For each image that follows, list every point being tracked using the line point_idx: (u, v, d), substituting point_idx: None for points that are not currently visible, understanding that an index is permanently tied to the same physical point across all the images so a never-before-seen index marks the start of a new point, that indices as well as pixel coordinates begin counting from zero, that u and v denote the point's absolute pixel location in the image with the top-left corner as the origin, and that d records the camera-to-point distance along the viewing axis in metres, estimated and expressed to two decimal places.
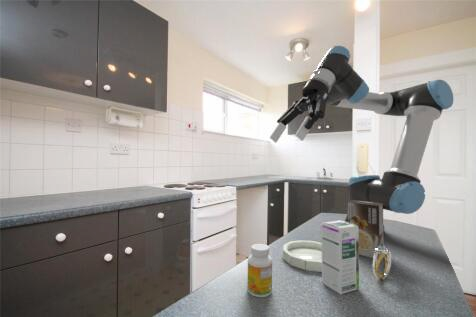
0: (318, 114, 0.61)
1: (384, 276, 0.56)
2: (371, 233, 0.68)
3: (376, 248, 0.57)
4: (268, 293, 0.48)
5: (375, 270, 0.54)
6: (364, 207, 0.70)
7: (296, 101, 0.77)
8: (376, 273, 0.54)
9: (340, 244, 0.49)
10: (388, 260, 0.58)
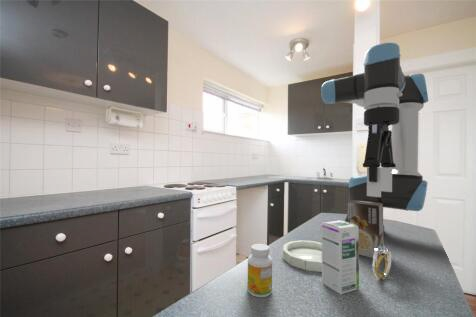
0: None
1: (384, 276, 0.56)
2: (371, 233, 0.68)
3: (376, 248, 0.57)
4: (268, 293, 0.48)
5: (375, 270, 0.54)
6: (364, 207, 0.70)
7: None
8: (376, 273, 0.54)
9: (340, 244, 0.49)
10: (388, 260, 0.58)
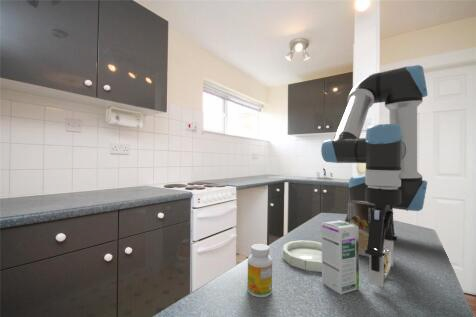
0: None
1: (384, 276, 0.56)
2: None
3: None
4: (268, 293, 0.48)
5: None
6: (364, 207, 0.70)
7: None
8: None
9: (340, 244, 0.49)
10: (388, 260, 0.58)
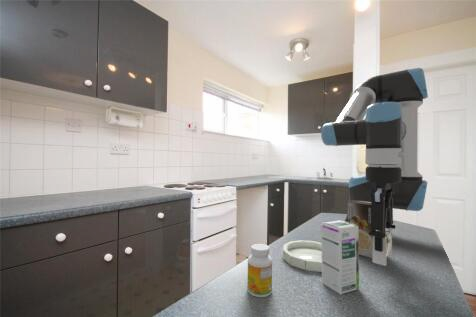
0: None
1: None
2: None
3: None
4: (268, 293, 0.48)
5: None
6: (364, 207, 0.70)
7: (383, 195, 0.52)
8: None
9: (340, 244, 0.49)
10: (388, 241, 0.58)
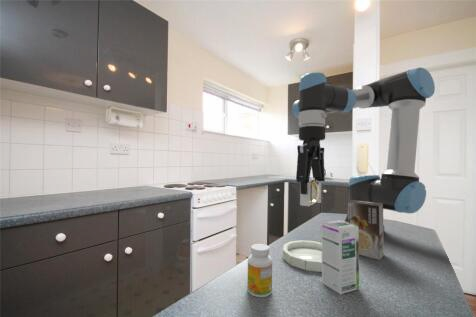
0: None
1: (312, 202, 0.67)
2: (371, 233, 0.68)
3: None
4: (268, 293, 0.48)
5: None
6: (364, 207, 0.70)
7: (306, 147, 0.63)
8: None
9: (340, 244, 0.49)
10: (317, 190, 0.69)
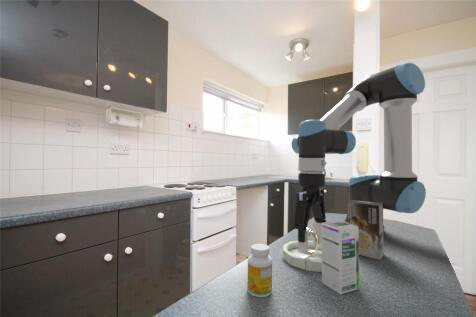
0: None
1: (312, 252, 0.67)
2: (371, 233, 0.68)
3: None
4: (268, 293, 0.48)
5: None
6: (364, 207, 0.70)
7: None
8: None
9: (340, 244, 0.49)
10: (317, 239, 0.69)
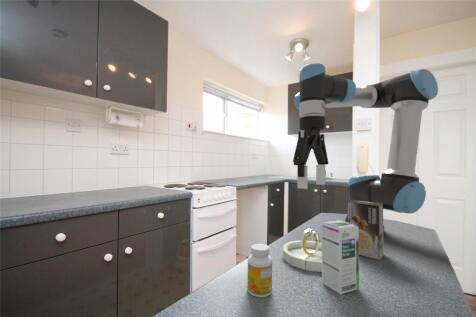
0: None
1: (312, 253, 0.67)
2: (371, 233, 0.68)
3: (306, 230, 0.68)
4: (268, 293, 0.48)
5: (303, 247, 0.66)
6: (364, 207, 0.70)
7: (307, 133, 0.64)
8: (304, 250, 0.66)
9: (340, 244, 0.49)
10: (317, 240, 0.69)
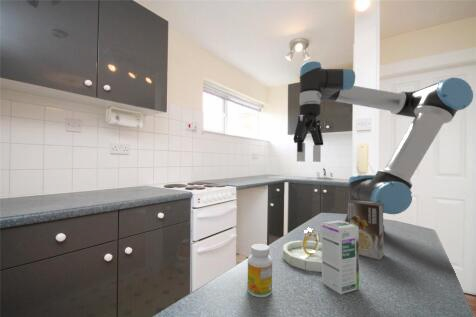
0: None
1: (312, 253, 0.67)
2: (371, 233, 0.68)
3: (306, 230, 0.68)
4: (268, 293, 0.48)
5: (303, 247, 0.66)
6: (364, 207, 0.70)
7: (305, 117, 0.80)
8: (304, 250, 0.66)
9: (340, 244, 0.49)
10: (317, 240, 0.69)
